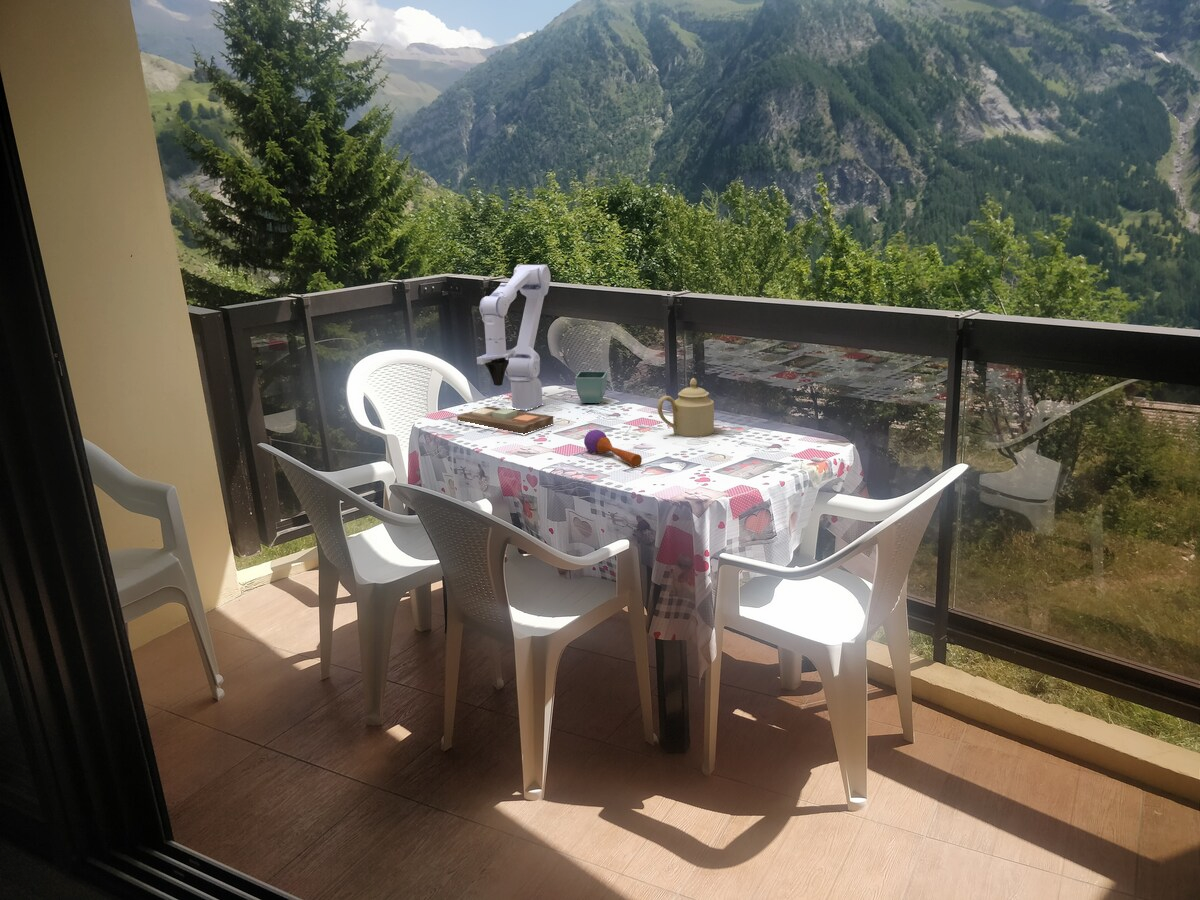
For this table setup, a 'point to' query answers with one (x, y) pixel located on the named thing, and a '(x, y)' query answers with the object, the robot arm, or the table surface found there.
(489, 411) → the cream button
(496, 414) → the sage button
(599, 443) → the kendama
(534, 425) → the button panel
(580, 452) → the table surface
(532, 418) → the terracotta button
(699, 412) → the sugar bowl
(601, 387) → the flower pot
